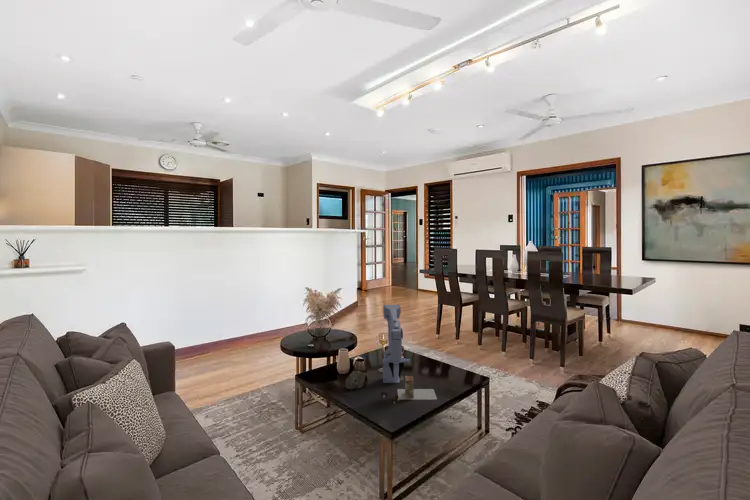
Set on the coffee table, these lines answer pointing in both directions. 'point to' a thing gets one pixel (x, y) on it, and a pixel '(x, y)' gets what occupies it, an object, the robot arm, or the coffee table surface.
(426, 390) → the grey mat
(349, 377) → the rock
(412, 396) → the wooden block
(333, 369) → the coffee table surface
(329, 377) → the coffee table surface
